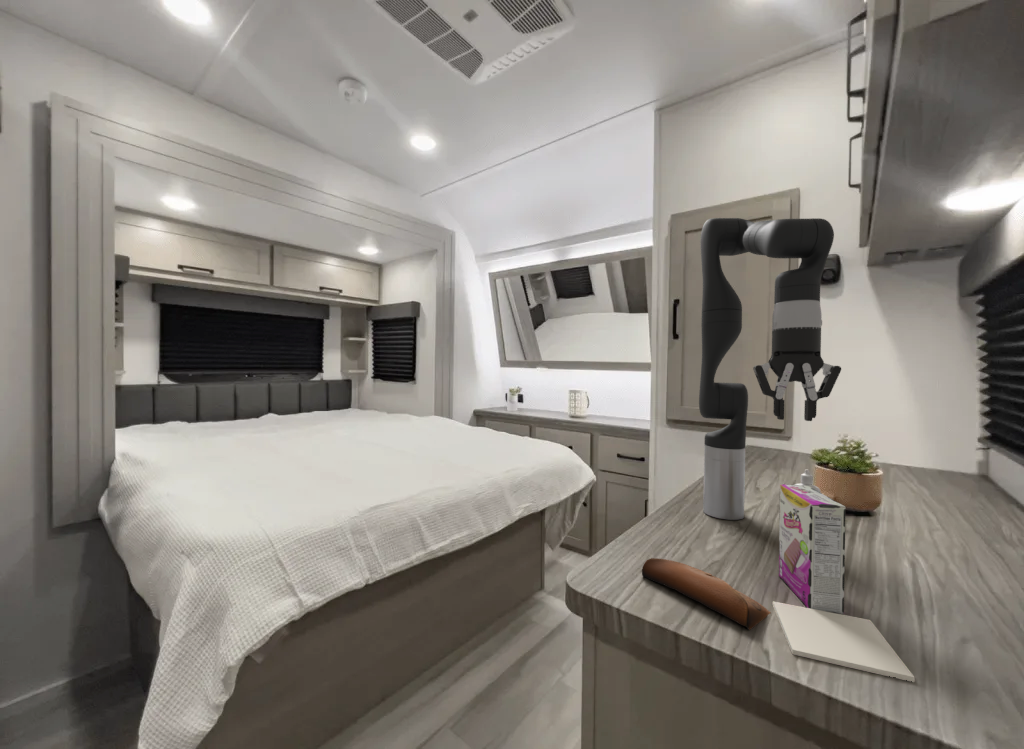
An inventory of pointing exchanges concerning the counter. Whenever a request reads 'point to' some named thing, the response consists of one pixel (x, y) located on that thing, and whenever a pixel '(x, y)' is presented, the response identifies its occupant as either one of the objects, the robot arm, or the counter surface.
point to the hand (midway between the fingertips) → (794, 419)
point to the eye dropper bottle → (807, 480)
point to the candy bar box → (812, 547)
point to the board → (839, 640)
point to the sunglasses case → (706, 590)
